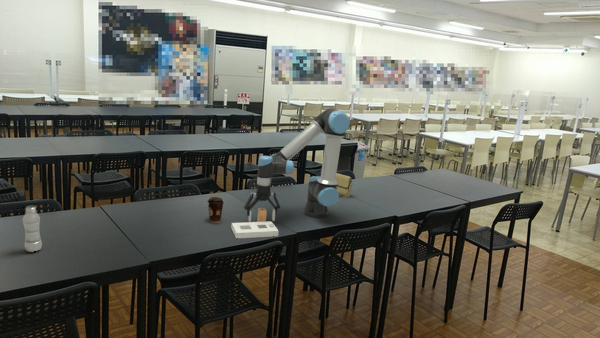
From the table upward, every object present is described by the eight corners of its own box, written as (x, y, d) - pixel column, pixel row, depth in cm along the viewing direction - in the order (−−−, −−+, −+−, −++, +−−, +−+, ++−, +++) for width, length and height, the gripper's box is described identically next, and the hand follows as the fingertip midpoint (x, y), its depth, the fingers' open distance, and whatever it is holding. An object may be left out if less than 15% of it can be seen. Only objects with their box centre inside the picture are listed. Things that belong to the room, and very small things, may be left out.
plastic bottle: (45, 247, 194) (42, 205, 189) (36, 254, 187) (34, 210, 183) (30, 247, 194) (27, 204, 189) (21, 253, 187) (18, 209, 182)
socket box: (271, 226, 241) (271, 220, 240) (278, 236, 228) (278, 229, 227) (231, 228, 234) (231, 222, 233) (236, 238, 221) (236, 231, 220)
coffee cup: (207, 223, 237) (208, 201, 234) (206, 218, 245) (207, 196, 242) (223, 223, 240) (224, 200, 237) (222, 218, 247) (222, 196, 244)
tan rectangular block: (264, 221, 248) (264, 207, 246) (265, 224, 244) (266, 210, 242) (257, 221, 246) (257, 208, 244) (258, 224, 243) (259, 210, 241)
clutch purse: (313, 189, 320) (315, 169, 317) (320, 187, 326) (321, 168, 322) (346, 199, 301) (348, 178, 298) (352, 198, 306) (354, 177, 303)
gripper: (283, 182, 247) (280, 217, 252) (240, 182, 239) (238, 219, 244) (287, 185, 241) (284, 222, 245) (242, 186, 232) (240, 224, 237)
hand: (261, 220), depth 245 cm, fingers open, 13 cm apart
